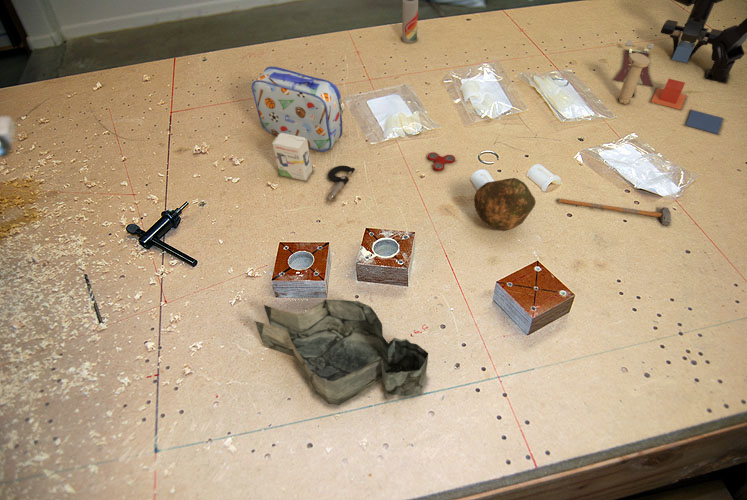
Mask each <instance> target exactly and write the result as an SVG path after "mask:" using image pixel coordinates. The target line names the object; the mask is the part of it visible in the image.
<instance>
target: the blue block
mask: <svg viewBox="0 0 747 500" xmlns="http://www.w3.org/2000/svg"><path fill="white" fill-rule="evenodd" d="M695 45H696V42H695V43H690V42H687V41H682V40H681V39H679V43H678V46H677V48H676V50H675V53H674V54H673V55H672V58H671V60H672V61H676V62H679V63H685V64H687V63H688V61H689V59H690V58H689V57H690V55H691V52H692V50H693V49H694V47H695Z"/></svg>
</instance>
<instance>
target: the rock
mask: <svg viewBox="0 0 747 500" xmlns="http://www.w3.org/2000/svg"><path fill="white" fill-rule="evenodd" d="M473 200H474V201H473V203H474V204H473V207H474V209H475V212H476V214H477V216H478V217H479V219H480V220H481V221H482V222H483V223H485V224H486V225H487V226H488V227H489V228H490V229H492V230H495V231H500V232H501V231H502V232H506V231H510V230H512V229H515V228H516V227H518V226H521V225H522V224H523V223H524V222H525V220H526V219H527V218H528V217H529V215H530V213H531V212H532V211H533V209H534V208H535V206H536V203H537V201H536V197H534V195H533V193H532V192H531V190H530V188H529V187H528V185H527V184H526V183H525V182H524V181H522V180H520V179H519V178H516V177H510V178H504V179H500V180H494V181H487V182H486V183H484V184H483V185H481V186H480V187H479V188H478V189H477V190H476V191H475V193H474V199H473Z"/></svg>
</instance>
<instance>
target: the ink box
mask: <svg viewBox="0 0 747 500" xmlns="http://www.w3.org/2000/svg"><path fill="white" fill-rule="evenodd" d="M271 144H272V149H273V153H274V156H275V161H276V165H277V168H278V174H279V176H282V177H287V178H292V179H297V180H300V181H307V180H308V179H309V177H310V176H311V174H312V172H313V165H312V160H311V154H310V148H308V142H307V139H305V138H304V137H299V136H294V135H289V134H285V133H280V134H279V135H278V136H275V138H274V140H272V142H271Z"/></svg>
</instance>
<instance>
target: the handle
mask: <svg viewBox="0 0 747 500" xmlns="http://www.w3.org/2000/svg"><path fill="white" fill-rule="evenodd" d="M629 61H630V63H631V67H630V70H629V72H628V75H627V77H626V79H625V81H623V84H622V87H621V89H620V92H619V98H618V101H619V103H620V104H622V105H623V104H624V105H626V104H629V103H630V102H631V99H632V97H634V96H633V94H634V95H635V92H636V89H637V86H638V80H639V77H640V74H641V71H642V68H643V67H647V66H648V67H649V66H650V63H651V59H650V58H649V56H648V57H646V56H645V55H643V54H640V53H633V54H630V56H629Z"/></svg>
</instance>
